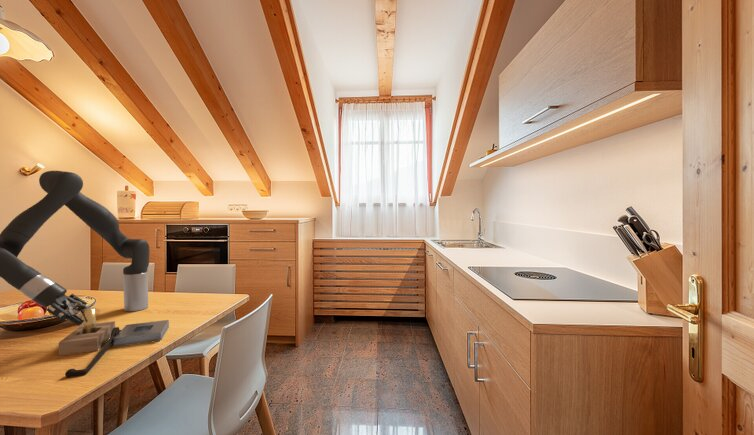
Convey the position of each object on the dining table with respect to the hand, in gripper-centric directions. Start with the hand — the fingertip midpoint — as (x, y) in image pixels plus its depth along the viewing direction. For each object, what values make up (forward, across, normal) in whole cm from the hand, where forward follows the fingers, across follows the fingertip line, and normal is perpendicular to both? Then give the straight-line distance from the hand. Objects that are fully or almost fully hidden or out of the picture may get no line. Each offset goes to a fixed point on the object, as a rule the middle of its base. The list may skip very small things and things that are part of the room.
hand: (87, 319), depth 115 cm
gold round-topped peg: (+5, 0, +4) cm, 7 cm away
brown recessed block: (+6, 0, +6) cm, 9 cm away
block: (+18, 0, -5) cm, 19 cm away
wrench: (+11, -12, +2) cm, 16 cm away
